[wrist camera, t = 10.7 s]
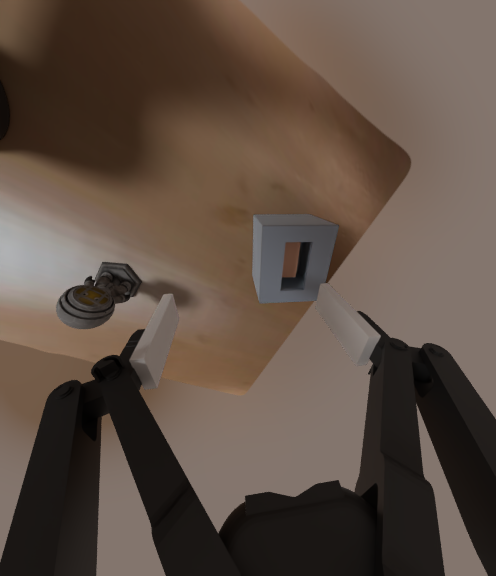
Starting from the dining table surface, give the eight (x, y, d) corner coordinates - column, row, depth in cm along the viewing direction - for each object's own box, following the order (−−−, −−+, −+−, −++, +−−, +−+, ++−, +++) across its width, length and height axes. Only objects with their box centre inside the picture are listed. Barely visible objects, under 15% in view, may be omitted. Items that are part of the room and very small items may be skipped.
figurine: (146, 274, 42) (110, 314, 29) (129, 303, 46) (90, 351, 33) (106, 252, 39) (46, 287, 26) (91, 286, 43) (31, 331, 30)
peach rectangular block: (274, 231, 39) (284, 242, 32) (288, 231, 40) (300, 241, 33) (272, 262, 43) (280, 277, 36) (284, 261, 43) (295, 277, 36)
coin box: (253, 214, 38) (262, 226, 28) (309, 214, 39) (339, 225, 29) (252, 275, 45) (259, 303, 35) (300, 273, 46) (321, 300, 36)
